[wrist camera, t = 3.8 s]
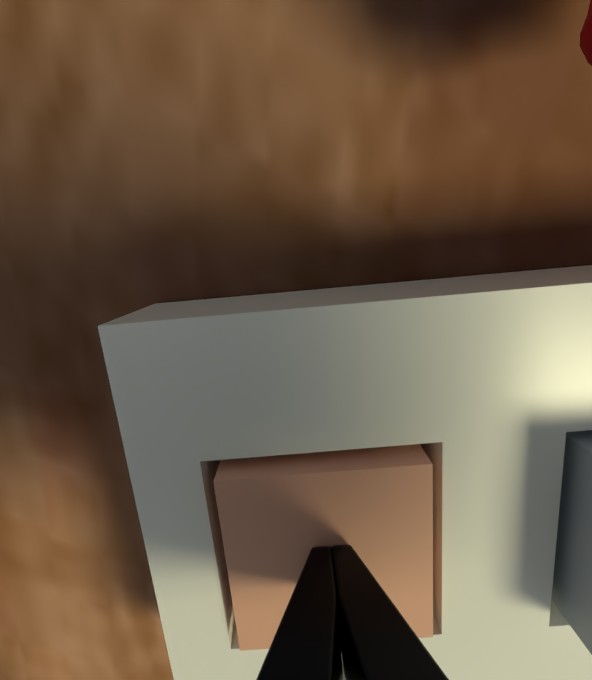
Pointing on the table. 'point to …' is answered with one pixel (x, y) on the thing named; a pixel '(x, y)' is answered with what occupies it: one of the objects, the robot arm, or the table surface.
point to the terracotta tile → (326, 528)
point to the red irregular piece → (587, 36)
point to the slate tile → (575, 537)
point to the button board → (368, 444)
